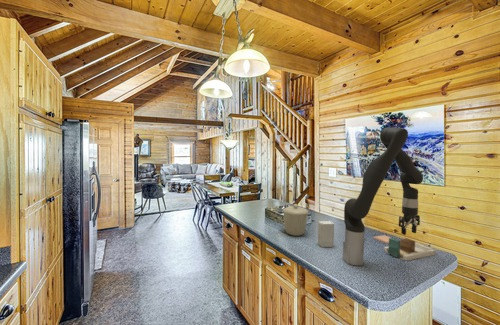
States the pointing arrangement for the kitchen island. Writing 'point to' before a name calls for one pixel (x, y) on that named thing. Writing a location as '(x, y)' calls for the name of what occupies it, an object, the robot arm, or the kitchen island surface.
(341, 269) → the kitchen island surface
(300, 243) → the kitchen island surface
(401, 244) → the block
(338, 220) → the kitchen island surface
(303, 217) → the canister
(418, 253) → the cream tray
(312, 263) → the kitchen island surface
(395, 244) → the l-shaped stand
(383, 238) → the plate
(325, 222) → the skincare box
